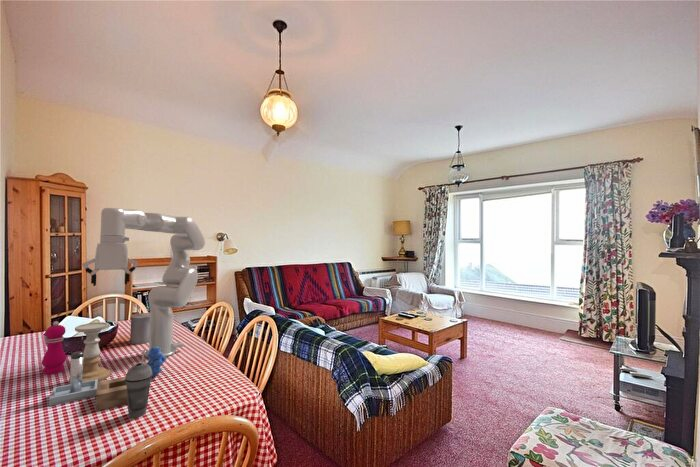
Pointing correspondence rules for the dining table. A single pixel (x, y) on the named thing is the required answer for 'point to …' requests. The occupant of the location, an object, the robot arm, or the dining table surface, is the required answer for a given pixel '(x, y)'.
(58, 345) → the pepper mill
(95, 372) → the candle holder
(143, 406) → the beverage cup
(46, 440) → the dining table surface
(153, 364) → the grapes
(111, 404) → the block
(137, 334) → the pillar candle
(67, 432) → the dining table surface
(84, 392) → the dish
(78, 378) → the pin
